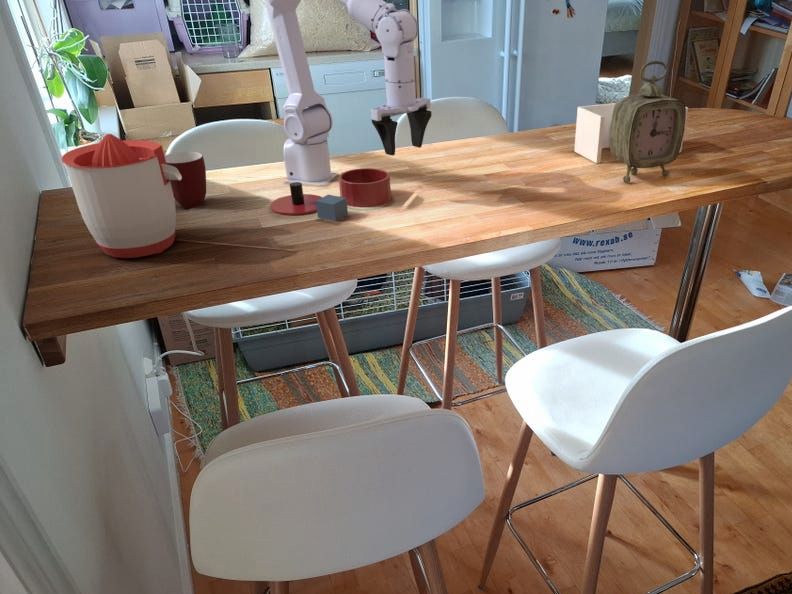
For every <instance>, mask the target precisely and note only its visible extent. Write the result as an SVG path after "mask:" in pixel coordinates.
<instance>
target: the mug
mask: <svg viewBox="0 0 792 594" xmlns="http://www.w3.org/2000/svg"><path fill="white" fill-rule="evenodd" d="M164 156H165V160H166V164H167V165H170V166H173V167H176V168H177V169H178V171H179V173H180V174H181V176H182V179H181V180H170V183H171V187H172V191H173V196H174V200H175V202H177V203H178V204H179V205H180V206H181V208H183V209H184V210H185V209H186V210H190V209H193V208H195V207H198V206H202V205H203V204H204V202H205V199H206V195H207V169H206V163H205V158H204V155H203V154H202V153H201V152H198V151H177V152H172V153H168V154H164Z"/></svg>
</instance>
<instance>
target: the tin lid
mask: <svg viewBox="0 0 792 594" xmlns="http://www.w3.org/2000/svg"><path fill="white" fill-rule="evenodd" d="M289 190H290V195H284V196H281V197H278V198H276V199H273V201H271V203H270V205H269V208H270V210H271V211H272V212H273V213H275V214H277V215H283V216H304V215H310V214H314V213H317V207H316V200H318V199H320V198H322V197H323V196H320V195H317V194H312V193H304V189H303V182H289Z"/></svg>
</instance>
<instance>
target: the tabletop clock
mask: <svg viewBox="0 0 792 594" xmlns="http://www.w3.org/2000/svg"><path fill="white" fill-rule="evenodd" d="M652 65H661V66H663V68H664V73H663V74H662V75H661V76H659V77H656V75H655V74H651V75H650V78H646V77H644V76H643V72H644V70H645V69H646V68H647V67H649V66H652ZM667 73H668V65H667V64H666V63H665V62H664V61H662V60H650V61H648V62H646V63H645V64H644V65H643V66H642V67H641V69H640V71H639V77H640V79H641V80H642V81H644V82H646V83H644V84H643V85H642V86H641V87H640V89H639V91H638V93H637V94H631V95H627V96H624V97H622V98H620V99H618V100H617V101H616V102H615V103H616V104H615V106H614V110H613V114H612V121H611V127H610V148H609V150H610V155H611V157H612V158H613V159H615V160H617V161H619V162H620V163H621V162H622V163H623V164H625V165H626V166H627V168H626V175H624V176H623V179H622V180H623V182H624V183H625V184H628V183H630V181H631V176H630V174H631V175H633V176H634V175H637V174H638V172H639V170H638V169H650V168H652V169H653V168H656V167H660V168H661V170H662V172H661V175H662V177H664V178H667V177H669V175H670V171H669V170H668V169H666V168H665V165H669V164H671V163H673V162H674V161H676V160H677V158H678V156H679V154H680V153H679V151H680V147H681V143H682V139H683V140H684V138H683V134H684V135H685V131H684V128H685V129H686V125H685V118H686V108H685V107H686V103H685V102H684V101H682V100H679V99H677V98H673V97H670V96H667V95H664V94H663V89H662V86H661V85H660V84H658V83H656V82H660V81H661V80H663V79H664V78H665V77H666V75H667Z"/></svg>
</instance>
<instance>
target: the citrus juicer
mask: <svg viewBox="0 0 792 594" xmlns="http://www.w3.org/2000/svg"><path fill="white" fill-rule="evenodd" d="M61 162H62V163H63V164H64V166H65V169H66V173H67V175H68V178H69V181H70V184H71V188H72V191H73V194H74V197H75V201H76V204H77V207H78V210H79V212H80V215H81V217H82V220H83V222H84V224H85V225H86V228H87V229H88V231H89V233H90V234H91V236H92V238H93V239H94V240H95V243H96V244H97V245H98V247H99V248H100V249H101V250H102V251H103V252H104V253H105V254H106V255H107V256H109V257H112V258H114V259H131V258H133V259H134V258H141V257H147V256H152V255H157V254H161V253H163V252H164V251H165V250H167V249H169V247H171V246H172V245H173V244H174V243H175V237H176V234H177V233H176V232H177V231H176V230H177V228H176V224H177V211H176V210H177V209H176V200H175V198H174V196H173V191H172V187H171V183H170V180H181V179H182V176H181V174H180V173H179V171H178V169H177V168H176V167H173V166H170V165H167V164H166V160H165V153H164V148H163V145H162V144H161V143H158V142H156V141H151V140H141V139H139V140H138V139H126V140H125V139H124V140H122V139H121V138H119V137H117V136H115V135H114V134H112V133H107V134H105V135H104V136H103V137H102V138H101V140H100V142H96V143H91V144H87V145H83V146H80V147H77V148H73V149H71V150H69V151H67V152H66V153H64V154H63V155H62V157H61Z"/></svg>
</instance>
